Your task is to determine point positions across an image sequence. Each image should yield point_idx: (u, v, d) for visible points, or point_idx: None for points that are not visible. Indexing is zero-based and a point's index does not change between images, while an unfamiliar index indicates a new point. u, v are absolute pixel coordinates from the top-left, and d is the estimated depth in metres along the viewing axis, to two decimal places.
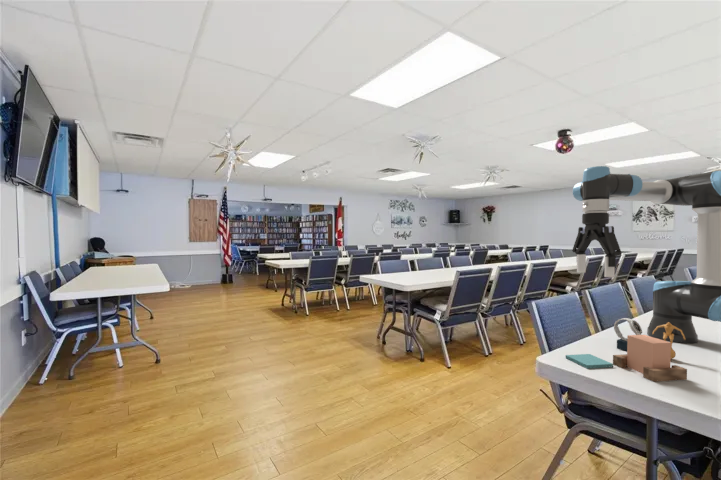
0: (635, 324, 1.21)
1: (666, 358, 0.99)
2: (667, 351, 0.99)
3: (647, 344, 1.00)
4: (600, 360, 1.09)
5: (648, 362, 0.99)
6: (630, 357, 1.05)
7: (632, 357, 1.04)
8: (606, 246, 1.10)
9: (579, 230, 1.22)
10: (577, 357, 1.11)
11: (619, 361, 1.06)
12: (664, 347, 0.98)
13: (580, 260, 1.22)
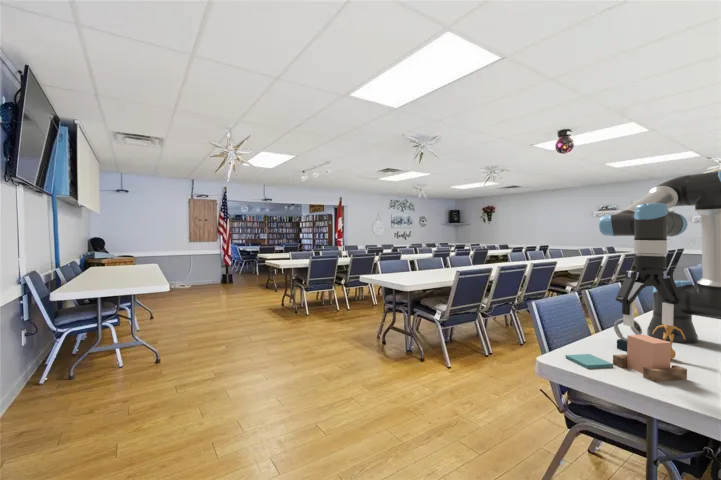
0: (635, 324, 1.21)
1: (666, 358, 0.99)
2: (667, 351, 0.99)
3: (647, 344, 1.00)
4: (600, 360, 1.09)
5: (648, 362, 0.99)
6: (630, 357, 1.05)
7: (632, 357, 1.04)
8: None
9: None
10: (577, 357, 1.11)
11: (619, 361, 1.06)
12: (664, 347, 0.98)
13: (665, 310, 1.03)
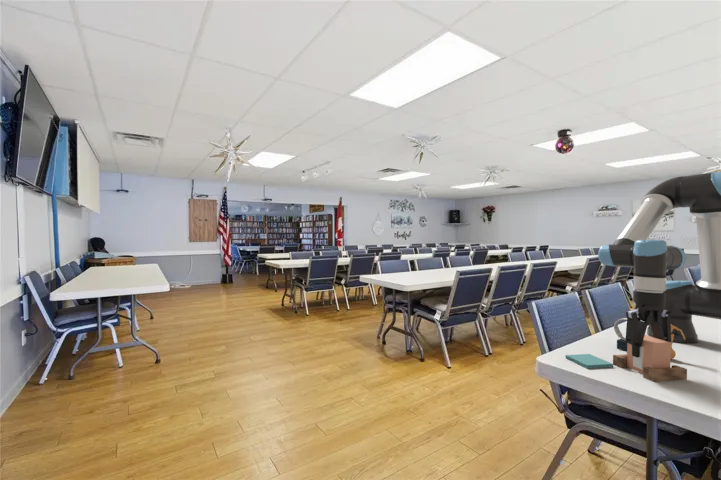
0: None
1: (666, 358, 0.99)
2: (667, 351, 0.99)
3: (646, 344, 1.00)
4: (600, 360, 1.09)
5: (648, 362, 0.99)
6: (630, 357, 1.05)
7: (632, 357, 1.04)
8: None
9: None
10: (577, 357, 1.11)
11: (619, 361, 1.06)
12: (664, 347, 0.98)
13: None
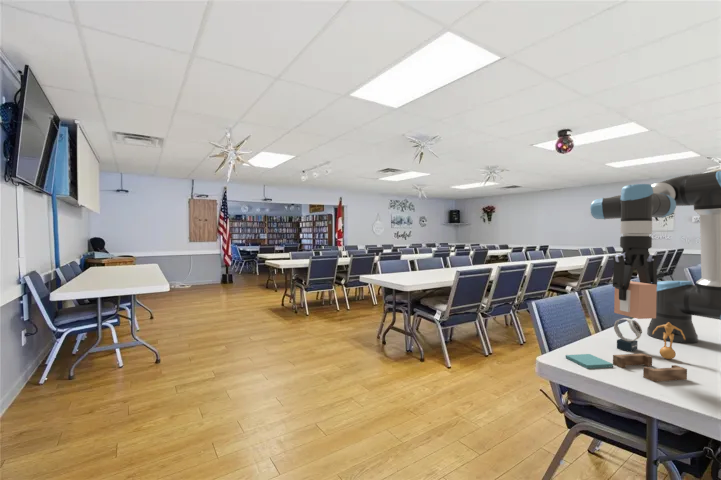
0: (635, 324, 1.21)
1: (652, 300, 1.00)
2: (653, 293, 1.00)
3: (633, 286, 1.01)
4: (600, 360, 1.09)
5: (635, 304, 1.00)
6: (617, 302, 1.06)
7: (619, 302, 1.05)
8: None
9: None
10: (577, 357, 1.11)
11: (619, 361, 1.06)
12: (650, 289, 1.00)
13: None
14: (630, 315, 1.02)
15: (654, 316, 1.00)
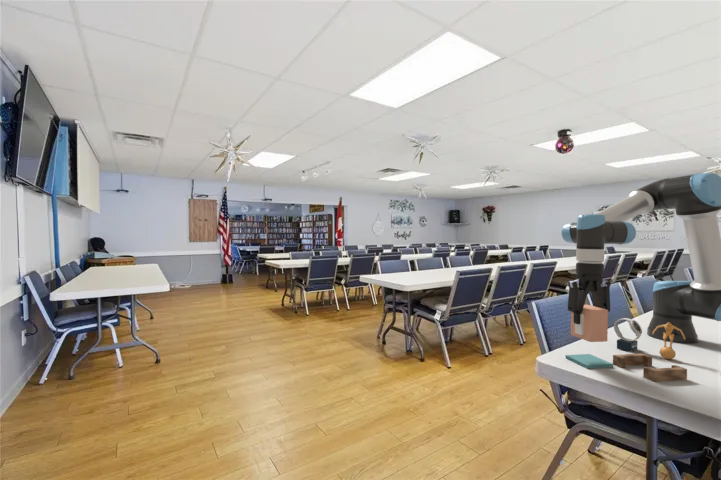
0: (635, 324, 1.21)
1: (603, 324, 1.06)
2: (604, 317, 1.06)
3: (586, 311, 1.07)
4: (600, 360, 1.09)
5: (587, 328, 1.06)
6: (573, 325, 1.12)
7: None
8: (576, 301, 1.09)
9: None
10: (577, 357, 1.11)
11: (619, 361, 1.06)
12: (601, 314, 1.05)
13: None
14: (583, 338, 1.08)
15: (605, 339, 1.06)
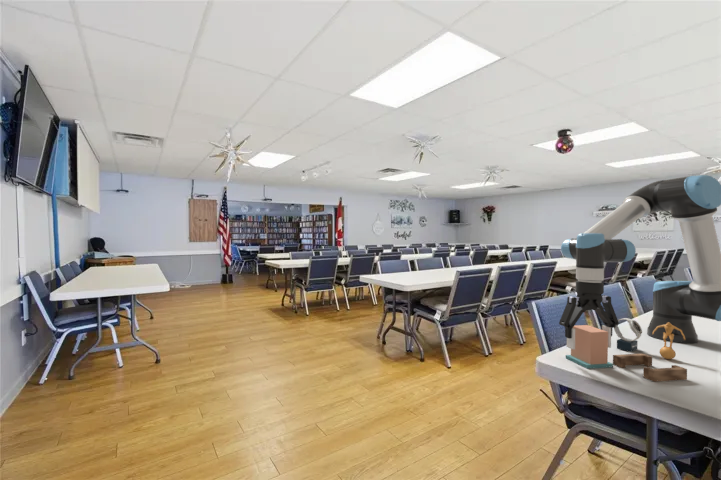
0: (635, 324, 1.21)
1: (603, 346, 1.06)
2: (604, 340, 1.06)
3: (586, 333, 1.07)
4: None
5: (587, 350, 1.06)
6: None
7: (575, 346, 1.11)
8: None
9: None
10: None
11: (619, 361, 1.06)
12: (601, 336, 1.06)
13: None
14: (583, 360, 1.08)
15: (605, 361, 1.06)
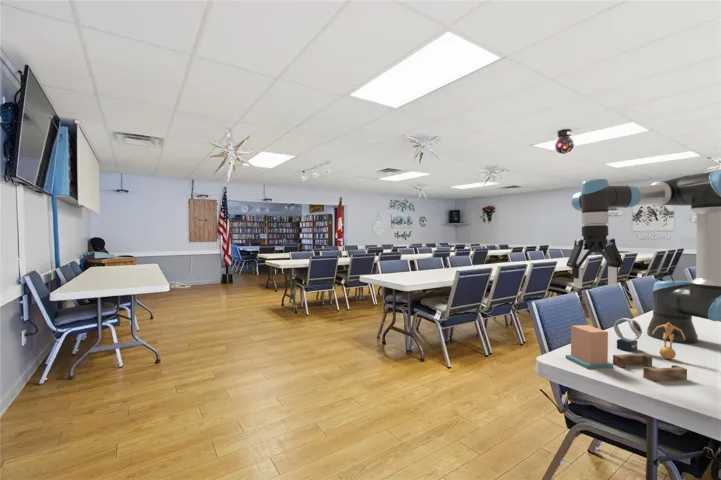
0: (635, 324, 1.21)
1: (603, 346, 1.06)
2: (604, 340, 1.06)
3: (586, 333, 1.07)
4: None
5: (587, 350, 1.06)
6: (573, 346, 1.12)
7: (575, 346, 1.11)
8: None
9: None
10: None
11: (619, 361, 1.06)
12: (601, 336, 1.06)
13: (610, 273, 1.18)
14: (583, 360, 1.08)
15: (605, 361, 1.06)
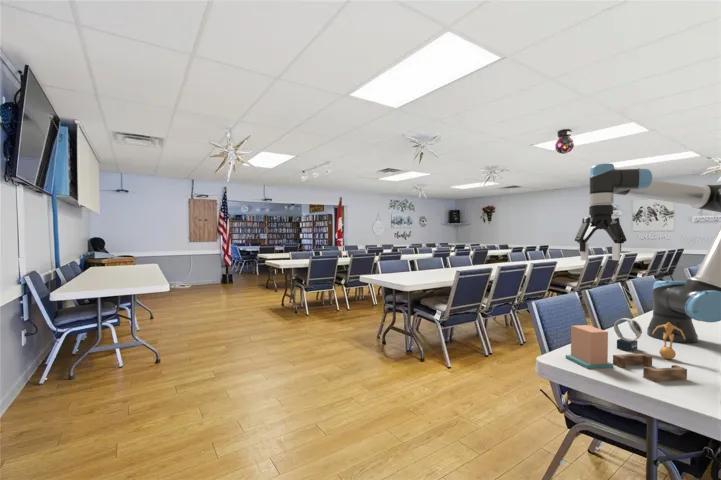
0: (635, 324, 1.21)
1: (603, 346, 1.06)
2: (604, 340, 1.06)
3: (586, 333, 1.07)
4: None
5: (587, 350, 1.06)
6: (573, 346, 1.12)
7: (575, 346, 1.11)
8: (584, 234, 1.30)
9: None
10: None
11: (619, 361, 1.06)
12: (601, 336, 1.06)
13: (614, 248, 1.31)
14: (583, 360, 1.08)
15: (605, 361, 1.06)
